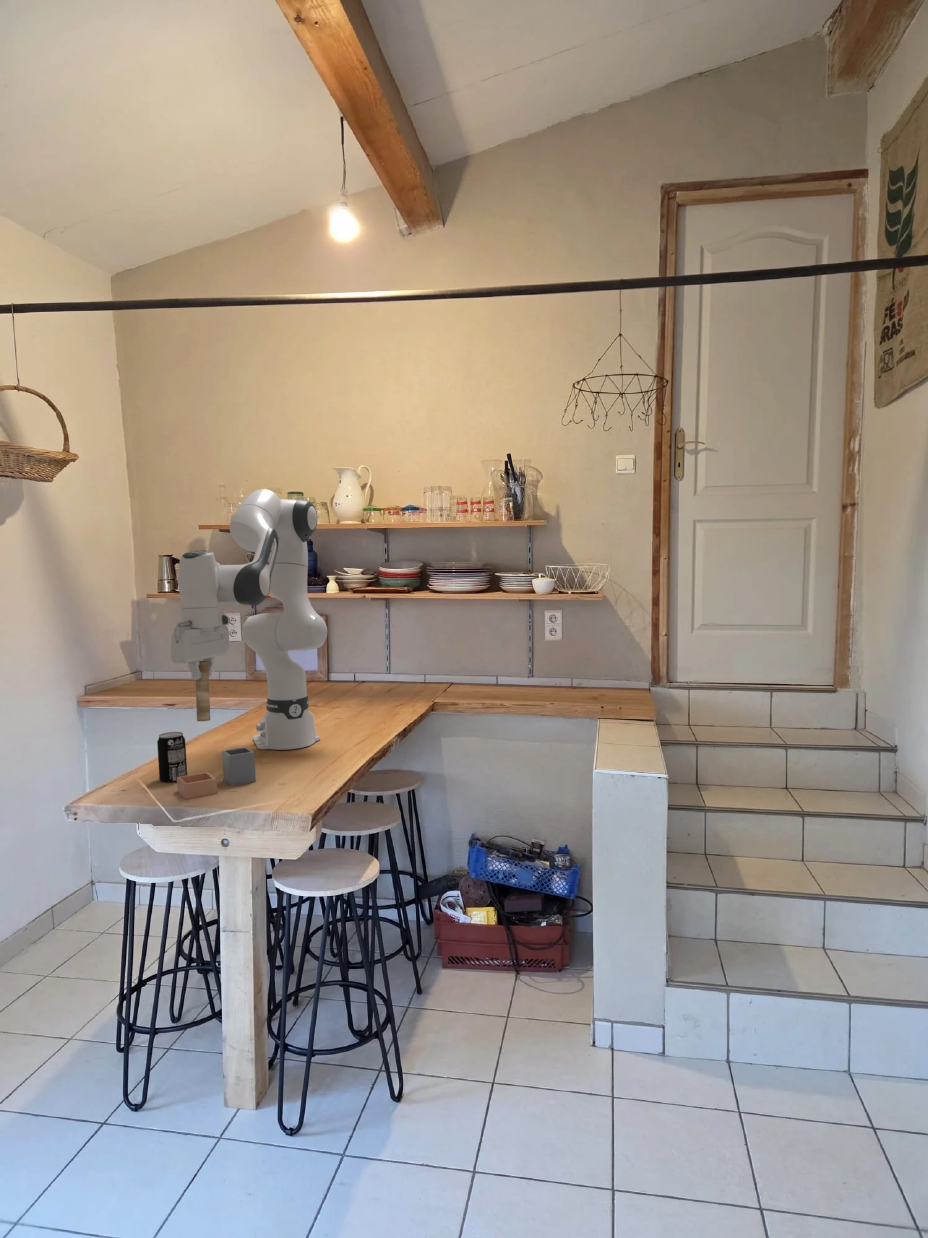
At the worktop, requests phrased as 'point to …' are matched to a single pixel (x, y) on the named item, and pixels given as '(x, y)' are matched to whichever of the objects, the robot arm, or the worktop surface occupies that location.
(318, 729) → the worktop surface
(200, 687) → the dowel
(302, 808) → the worktop surface
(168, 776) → the beverage can
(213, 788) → the terracotta pot
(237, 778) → the deep cup
